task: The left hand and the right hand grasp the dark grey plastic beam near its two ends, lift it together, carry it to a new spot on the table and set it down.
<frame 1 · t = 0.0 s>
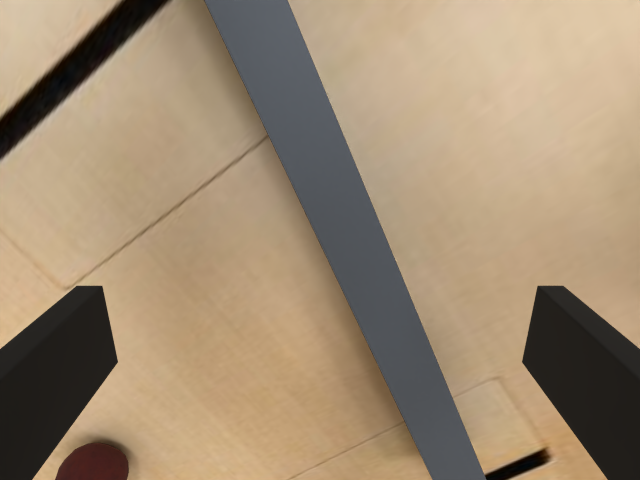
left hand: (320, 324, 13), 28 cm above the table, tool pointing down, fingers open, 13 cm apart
dark maroon ball: (108, 451, 51), on the table
beam: (357, 235, 41), on the table
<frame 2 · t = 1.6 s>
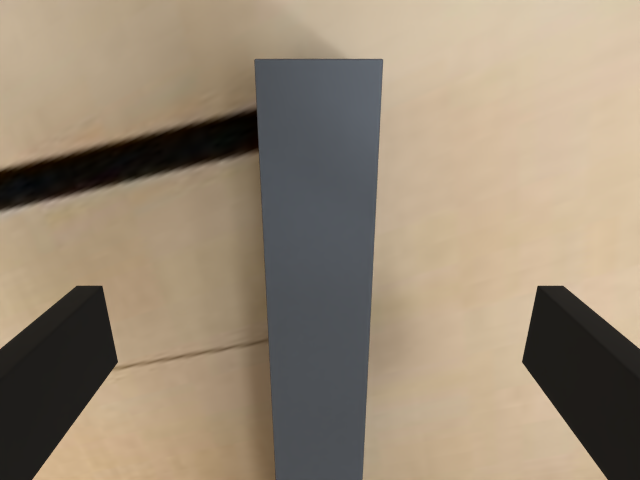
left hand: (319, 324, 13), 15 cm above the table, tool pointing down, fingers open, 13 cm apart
beam: (319, 467, 35), on the table
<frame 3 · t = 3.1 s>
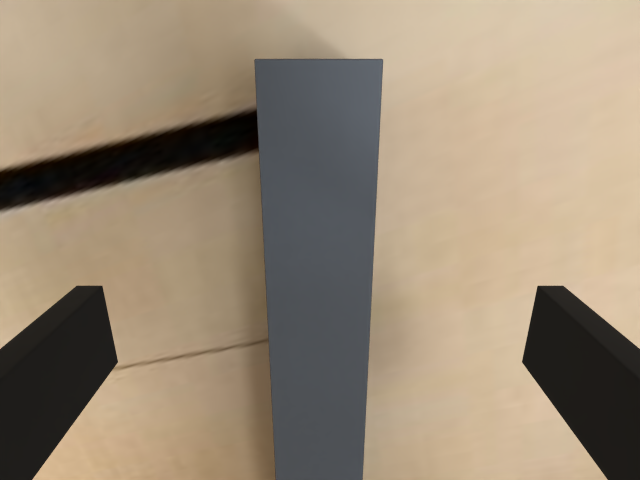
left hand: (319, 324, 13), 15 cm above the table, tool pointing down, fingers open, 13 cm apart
beam: (319, 467, 35), on the table, touching right hand
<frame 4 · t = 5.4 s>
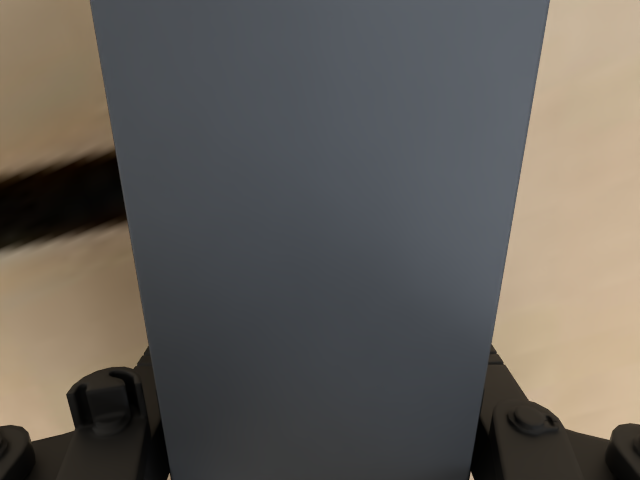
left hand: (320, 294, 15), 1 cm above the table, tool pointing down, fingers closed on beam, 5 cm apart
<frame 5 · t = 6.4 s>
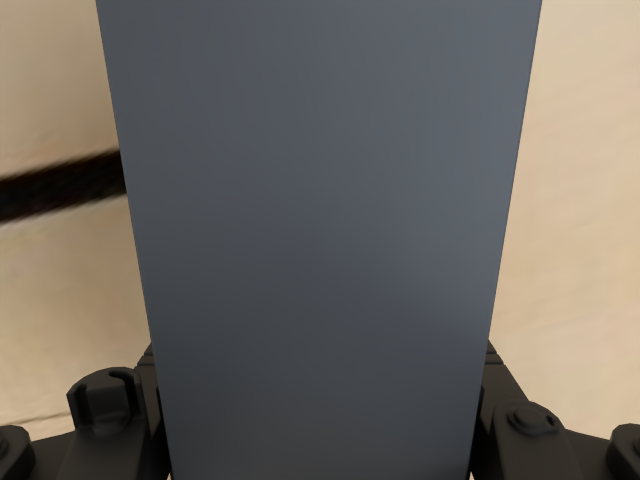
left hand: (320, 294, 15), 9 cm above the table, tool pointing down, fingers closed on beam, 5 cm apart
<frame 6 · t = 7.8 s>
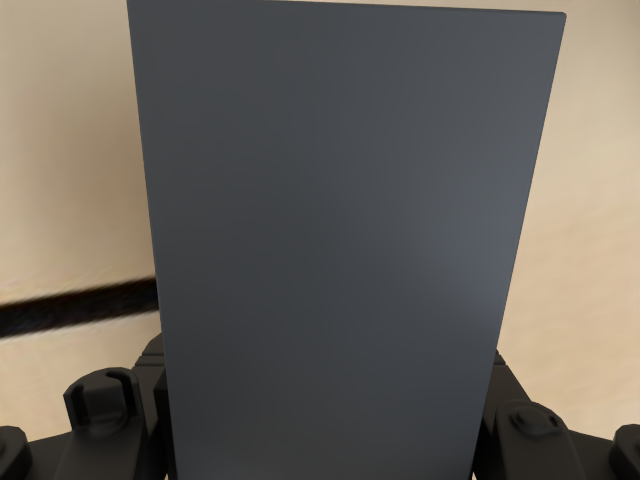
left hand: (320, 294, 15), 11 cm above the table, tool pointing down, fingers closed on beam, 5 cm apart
when the left hand's fingers open (2 cm above the table, at t = 10.1 s): beam stays where it is, on the table.
when the right hand's fingers open (2 cm above the table, at t = 10.1 s): beam stays where it is, on the table.
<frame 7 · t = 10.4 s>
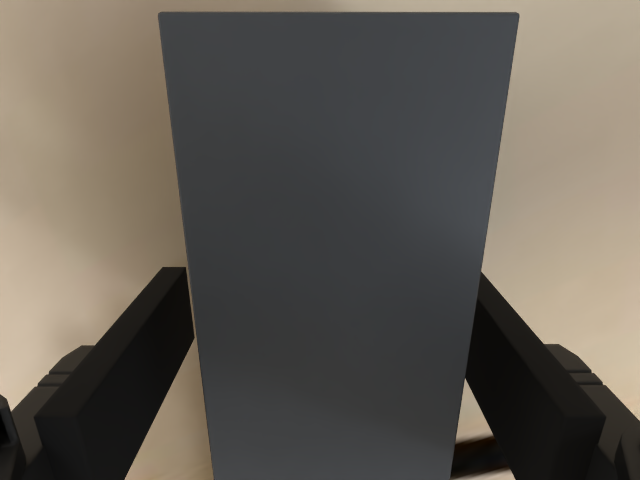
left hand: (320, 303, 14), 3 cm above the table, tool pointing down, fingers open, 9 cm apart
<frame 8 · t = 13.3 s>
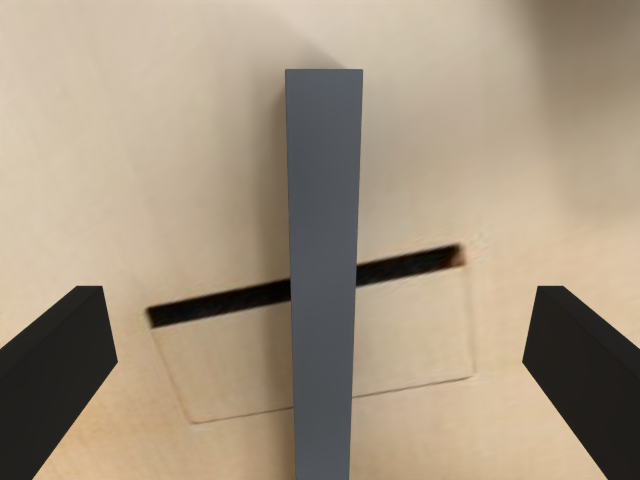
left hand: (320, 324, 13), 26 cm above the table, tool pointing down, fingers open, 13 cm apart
beam: (322, 379, 45), on the table
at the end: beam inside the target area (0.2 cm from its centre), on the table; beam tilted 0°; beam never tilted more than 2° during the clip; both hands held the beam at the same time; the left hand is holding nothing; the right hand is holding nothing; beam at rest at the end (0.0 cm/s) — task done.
